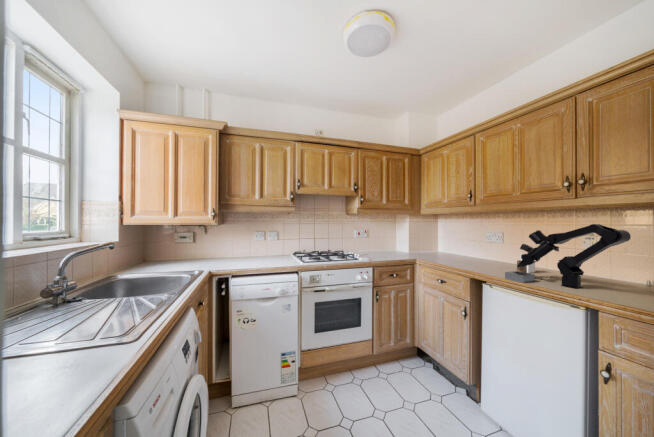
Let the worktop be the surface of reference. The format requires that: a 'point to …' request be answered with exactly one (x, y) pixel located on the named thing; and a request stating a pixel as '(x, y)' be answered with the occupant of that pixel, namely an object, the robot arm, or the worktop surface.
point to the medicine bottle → (529, 266)
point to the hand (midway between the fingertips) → (519, 266)
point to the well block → (519, 276)
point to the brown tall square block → (521, 269)
